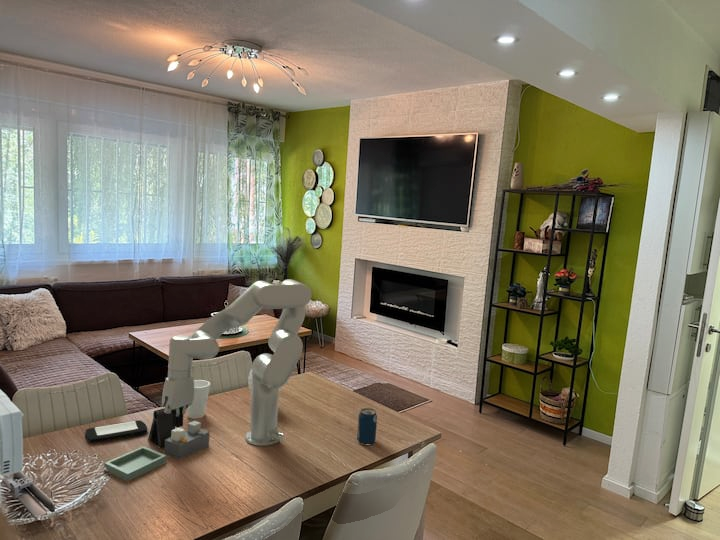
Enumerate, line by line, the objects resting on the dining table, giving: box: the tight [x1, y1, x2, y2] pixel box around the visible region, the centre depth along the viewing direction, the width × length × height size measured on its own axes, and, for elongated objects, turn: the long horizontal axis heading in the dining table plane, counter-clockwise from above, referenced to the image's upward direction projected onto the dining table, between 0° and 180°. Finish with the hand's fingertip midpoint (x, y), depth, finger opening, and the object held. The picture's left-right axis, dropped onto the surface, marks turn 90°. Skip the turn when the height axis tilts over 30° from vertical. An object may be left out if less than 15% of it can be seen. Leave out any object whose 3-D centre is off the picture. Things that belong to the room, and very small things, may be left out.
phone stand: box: [147, 407, 176, 449], centre depth 170 cm, size 9×6×12 cm, turn 50°
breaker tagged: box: [171, 427, 186, 442], centre depth 163 cm, size 3×3×4 cm
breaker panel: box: [163, 428, 210, 461], centre depth 167 cm, size 7×13×6 cm, turn 152°
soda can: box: [356, 408, 378, 445], centre depth 182 cm, size 7×7×12 cm
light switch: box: [84, 419, 148, 443], centre depth 175 cm, size 20×3×14 cm
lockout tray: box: [103, 445, 167, 482], centre depth 154 cm, size 11×14×2 cm
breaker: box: [187, 420, 202, 435], centre depth 170 cm, size 3×3×4 cm
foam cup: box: [186, 379, 211, 419], centre depth 194 cm, size 10×9×13 cm
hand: (177, 425), depth 163 cm, fingers closed
